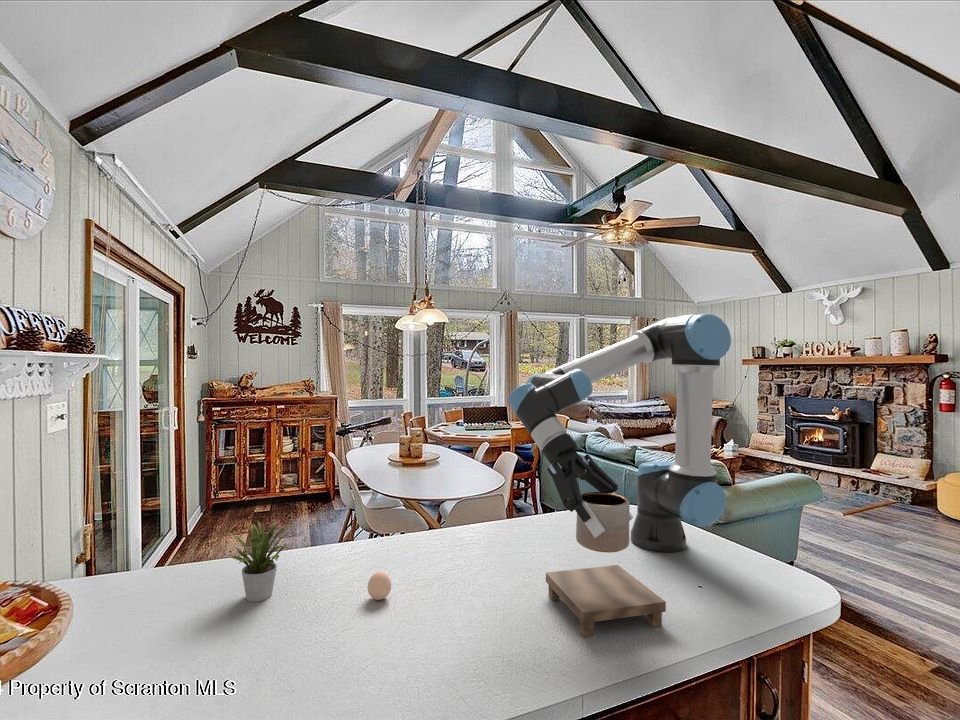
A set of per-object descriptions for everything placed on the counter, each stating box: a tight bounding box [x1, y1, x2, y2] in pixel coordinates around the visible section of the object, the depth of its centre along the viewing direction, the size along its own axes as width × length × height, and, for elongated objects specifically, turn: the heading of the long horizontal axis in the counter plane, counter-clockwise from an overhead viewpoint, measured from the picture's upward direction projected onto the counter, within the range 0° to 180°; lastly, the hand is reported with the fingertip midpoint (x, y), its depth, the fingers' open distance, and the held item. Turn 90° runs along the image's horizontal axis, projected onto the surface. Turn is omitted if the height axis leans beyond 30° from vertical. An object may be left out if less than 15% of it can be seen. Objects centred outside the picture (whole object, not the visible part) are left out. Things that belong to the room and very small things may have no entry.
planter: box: [575, 491, 630, 554], centre depth 106 cm, size 11×11×10 cm
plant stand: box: [545, 564, 667, 638], centre depth 106 cm, size 18×18×5 cm
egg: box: [367, 570, 392, 601], centre depth 110 cm, size 5×5×6 cm
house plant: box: [226, 519, 296, 603], centre depth 110 cm, size 14×14×16 cm
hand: (614, 527), depth 104 cm, fingers closed on planter, 11 cm apart
